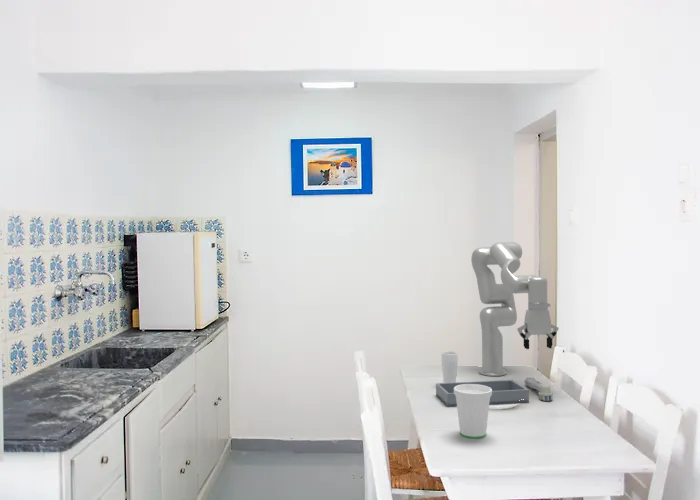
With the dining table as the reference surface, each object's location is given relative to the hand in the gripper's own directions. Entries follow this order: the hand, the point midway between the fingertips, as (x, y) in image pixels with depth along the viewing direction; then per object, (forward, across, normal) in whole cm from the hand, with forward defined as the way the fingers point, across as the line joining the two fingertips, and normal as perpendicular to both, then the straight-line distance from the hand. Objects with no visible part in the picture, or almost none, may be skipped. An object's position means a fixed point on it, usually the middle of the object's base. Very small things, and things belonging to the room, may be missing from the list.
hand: (538, 348), depth 242 cm
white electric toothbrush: (+20, 0, -1) cm, 20 cm away
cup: (+19, +42, +42) cm, 63 cm away
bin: (+19, +26, +3) cm, 32 cm away
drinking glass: (+19, +33, -17) cm, 41 cm away
